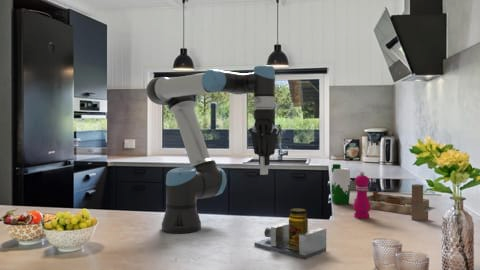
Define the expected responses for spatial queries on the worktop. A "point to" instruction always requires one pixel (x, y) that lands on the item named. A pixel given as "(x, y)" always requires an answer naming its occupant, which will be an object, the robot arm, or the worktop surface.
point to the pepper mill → (361, 197)
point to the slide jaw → (278, 234)
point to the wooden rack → (389, 199)
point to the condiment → (297, 227)
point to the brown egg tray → (393, 206)
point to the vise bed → (284, 250)
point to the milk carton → (340, 184)
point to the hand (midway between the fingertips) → (264, 174)
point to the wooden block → (418, 203)
